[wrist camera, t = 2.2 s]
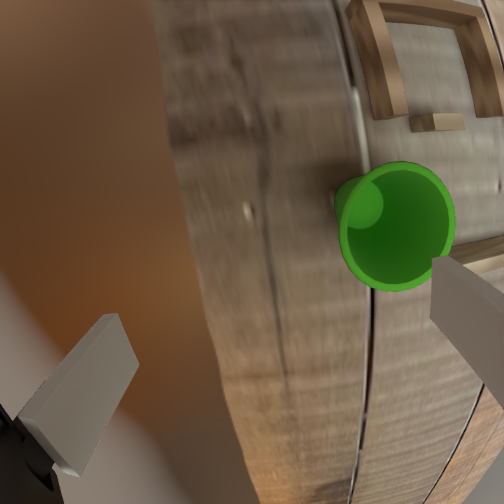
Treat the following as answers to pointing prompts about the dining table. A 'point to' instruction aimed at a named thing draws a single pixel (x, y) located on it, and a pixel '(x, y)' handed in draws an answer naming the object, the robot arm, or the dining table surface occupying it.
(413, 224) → the cup
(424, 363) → the dining table surface
